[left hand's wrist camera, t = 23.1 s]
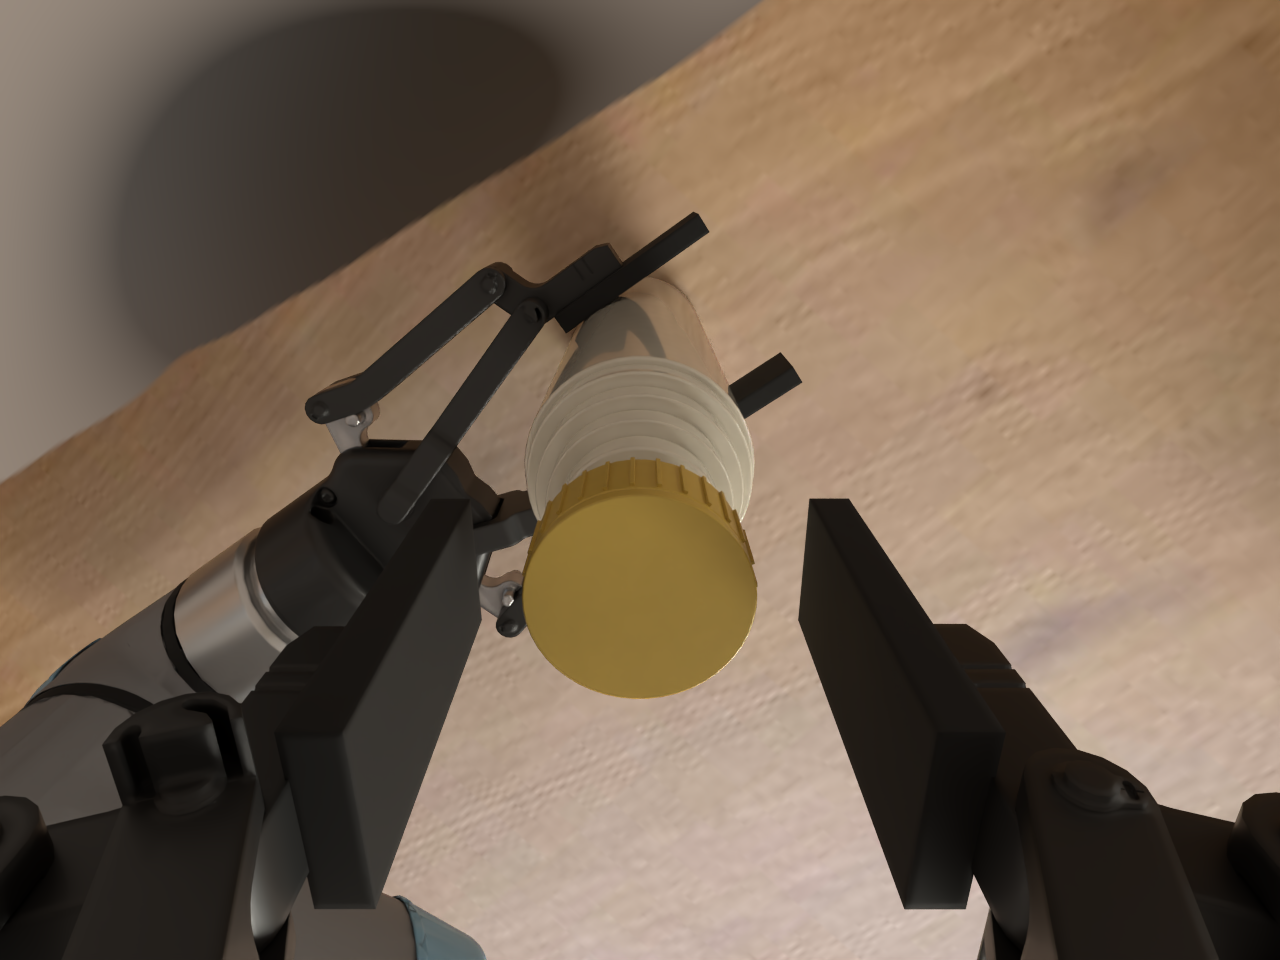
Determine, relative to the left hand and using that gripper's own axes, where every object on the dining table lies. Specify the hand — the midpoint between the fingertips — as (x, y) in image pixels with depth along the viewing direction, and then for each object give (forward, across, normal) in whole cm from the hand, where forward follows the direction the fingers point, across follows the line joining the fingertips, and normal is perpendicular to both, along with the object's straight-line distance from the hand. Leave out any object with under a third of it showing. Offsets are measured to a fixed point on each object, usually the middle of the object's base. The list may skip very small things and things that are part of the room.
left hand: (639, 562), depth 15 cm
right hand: (+17, -4, -3) cm, 17 cm away
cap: (-1, 0, 0) cm, 1 cm away
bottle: (+23, 0, 0) cm, 23 cm away
